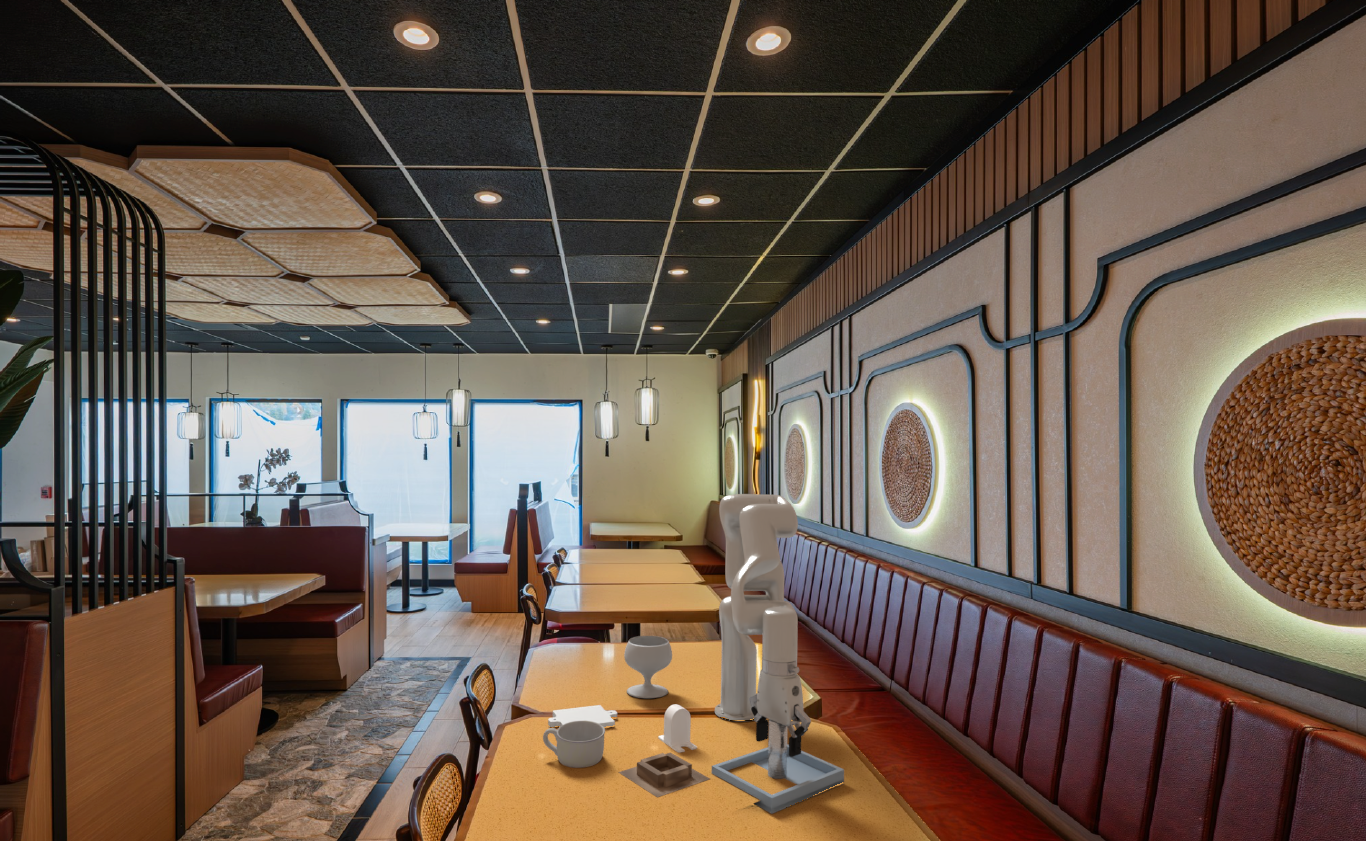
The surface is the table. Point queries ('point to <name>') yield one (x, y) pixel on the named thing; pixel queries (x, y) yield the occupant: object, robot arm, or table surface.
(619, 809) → the table surface
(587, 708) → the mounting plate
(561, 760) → the teacup
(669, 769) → the brown square socket base
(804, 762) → the tray
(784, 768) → the pin
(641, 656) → the chalice
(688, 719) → the cable organizer
